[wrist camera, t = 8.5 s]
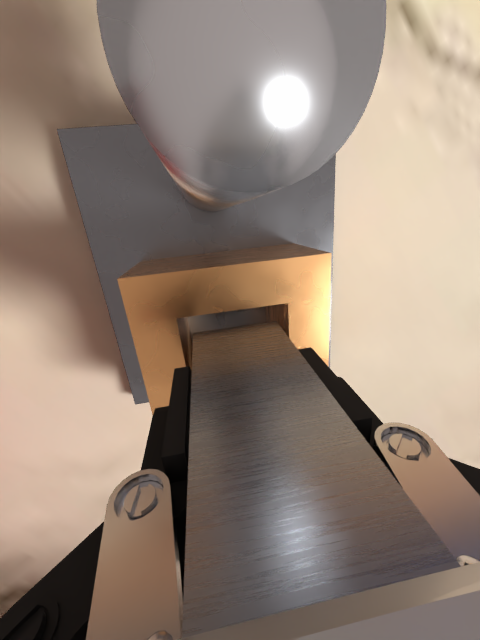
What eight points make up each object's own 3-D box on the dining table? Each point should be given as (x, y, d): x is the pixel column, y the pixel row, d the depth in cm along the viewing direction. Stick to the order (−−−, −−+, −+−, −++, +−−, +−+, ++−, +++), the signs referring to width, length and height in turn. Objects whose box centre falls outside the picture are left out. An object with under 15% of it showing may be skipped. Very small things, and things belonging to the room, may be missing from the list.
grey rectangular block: (276, 320, 12) (755, 957, 2) (279, 389, 13) (557, 977, 3) (193, 332, 11) (160, 1245, 1) (205, 402, 13) (234, 1122, 3)
